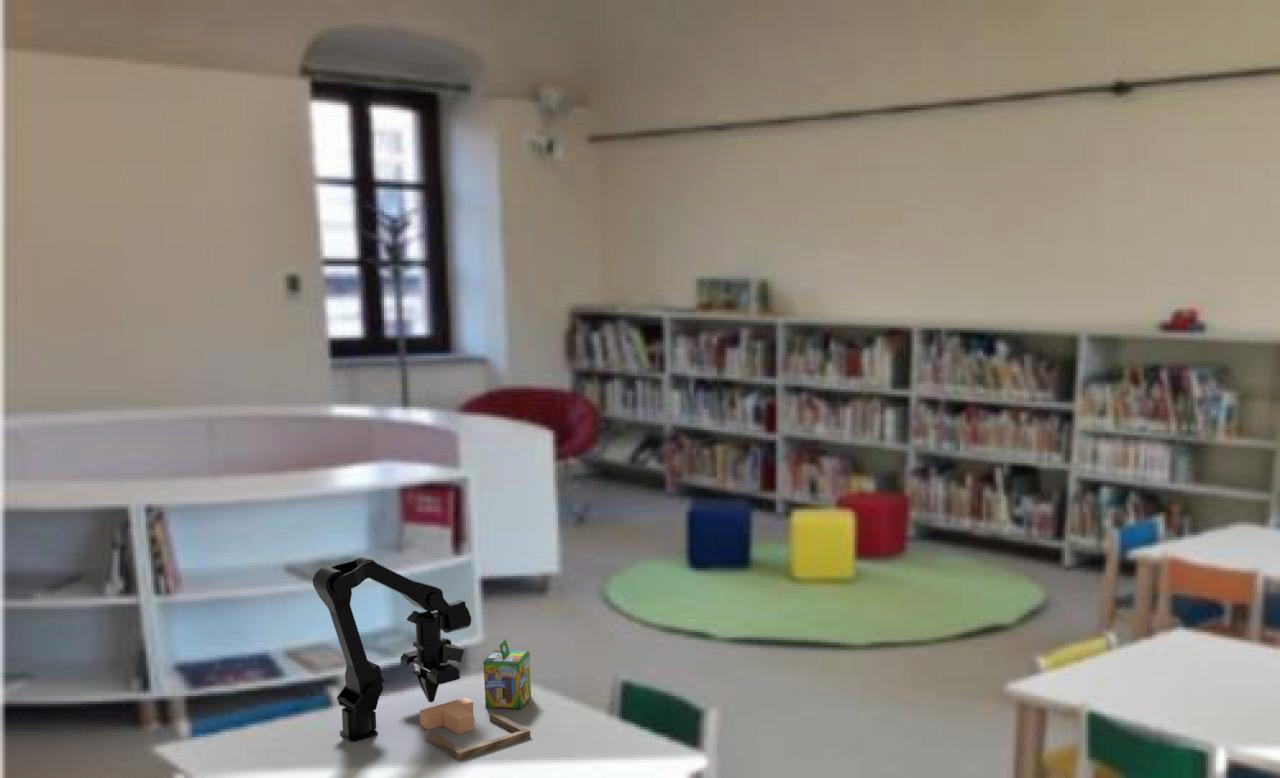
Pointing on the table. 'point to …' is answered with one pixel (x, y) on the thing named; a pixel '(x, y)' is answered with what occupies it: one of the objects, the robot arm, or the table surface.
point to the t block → (449, 716)
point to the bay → (460, 754)
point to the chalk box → (507, 678)
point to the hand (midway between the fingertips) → (431, 701)
